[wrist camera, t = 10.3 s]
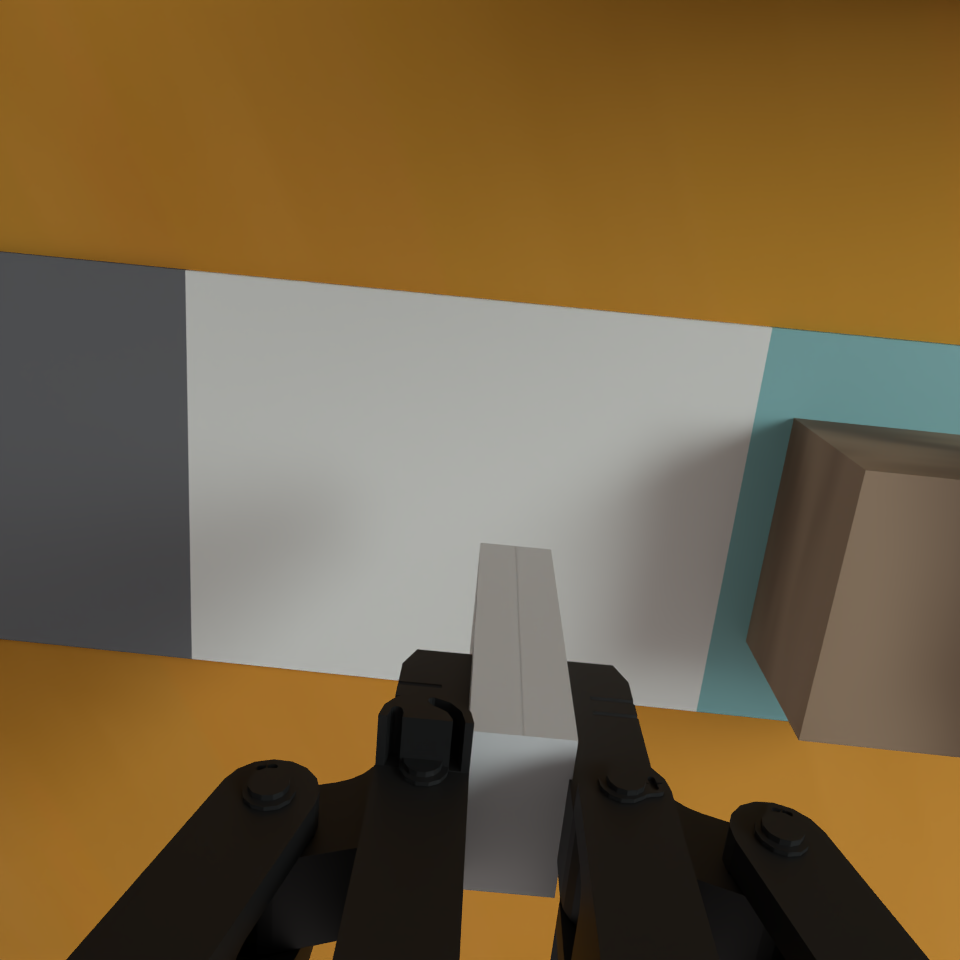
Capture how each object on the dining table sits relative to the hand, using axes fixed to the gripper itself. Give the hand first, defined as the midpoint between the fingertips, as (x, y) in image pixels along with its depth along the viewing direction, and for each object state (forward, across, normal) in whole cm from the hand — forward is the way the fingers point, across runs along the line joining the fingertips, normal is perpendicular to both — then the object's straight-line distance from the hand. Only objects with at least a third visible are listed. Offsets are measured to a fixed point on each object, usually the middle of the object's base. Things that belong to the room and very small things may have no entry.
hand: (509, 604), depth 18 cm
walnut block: (+7, +11, 0) cm, 13 cm away
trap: (+7, -13, 0) cm, 15 cm away
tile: (+7, -1, 0) cm, 7 cm away
